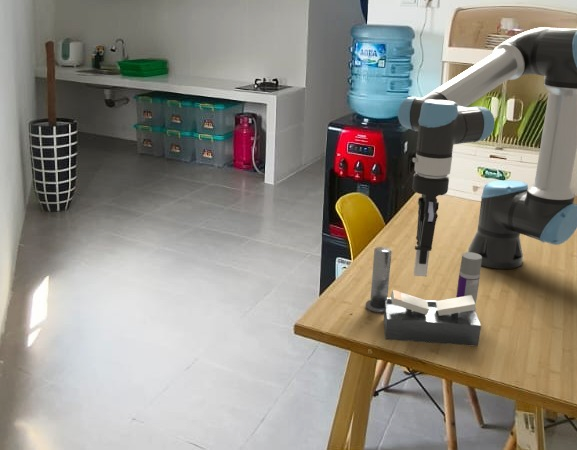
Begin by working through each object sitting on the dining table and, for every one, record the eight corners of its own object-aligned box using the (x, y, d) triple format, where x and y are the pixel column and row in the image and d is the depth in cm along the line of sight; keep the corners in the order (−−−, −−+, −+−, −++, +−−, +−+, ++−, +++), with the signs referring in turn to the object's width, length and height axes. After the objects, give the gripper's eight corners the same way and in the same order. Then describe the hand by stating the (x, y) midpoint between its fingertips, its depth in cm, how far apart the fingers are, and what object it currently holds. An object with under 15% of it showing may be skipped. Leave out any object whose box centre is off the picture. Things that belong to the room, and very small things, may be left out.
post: (389, 303, 157) (395, 246, 152) (391, 314, 151) (396, 256, 146) (365, 301, 157) (369, 244, 152) (365, 312, 152) (370, 254, 147)
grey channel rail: (470, 325, 147) (474, 301, 145) (478, 345, 139) (481, 320, 136) (383, 319, 149) (385, 295, 146) (385, 339, 140) (387, 314, 138)
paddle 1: (424, 305, 144) (426, 300, 143) (426, 314, 140) (429, 309, 139) (390, 295, 144) (393, 289, 143) (392, 304, 140) (394, 298, 139)
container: (451, 309, 155) (458, 252, 150) (470, 308, 155) (478, 251, 150) (457, 318, 150) (465, 259, 145) (477, 318, 151) (485, 259, 146)
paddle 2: (472, 300, 142) (471, 295, 142) (476, 309, 138) (475, 304, 138) (436, 306, 144) (435, 301, 143) (438, 315, 140) (437, 310, 139)
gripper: (411, 165, 143) (401, 262, 151) (416, 181, 131) (405, 285, 139) (445, 167, 142) (433, 264, 150) (453, 183, 130) (440, 288, 138)
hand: (420, 274), depth 144 cm, fingers closed
